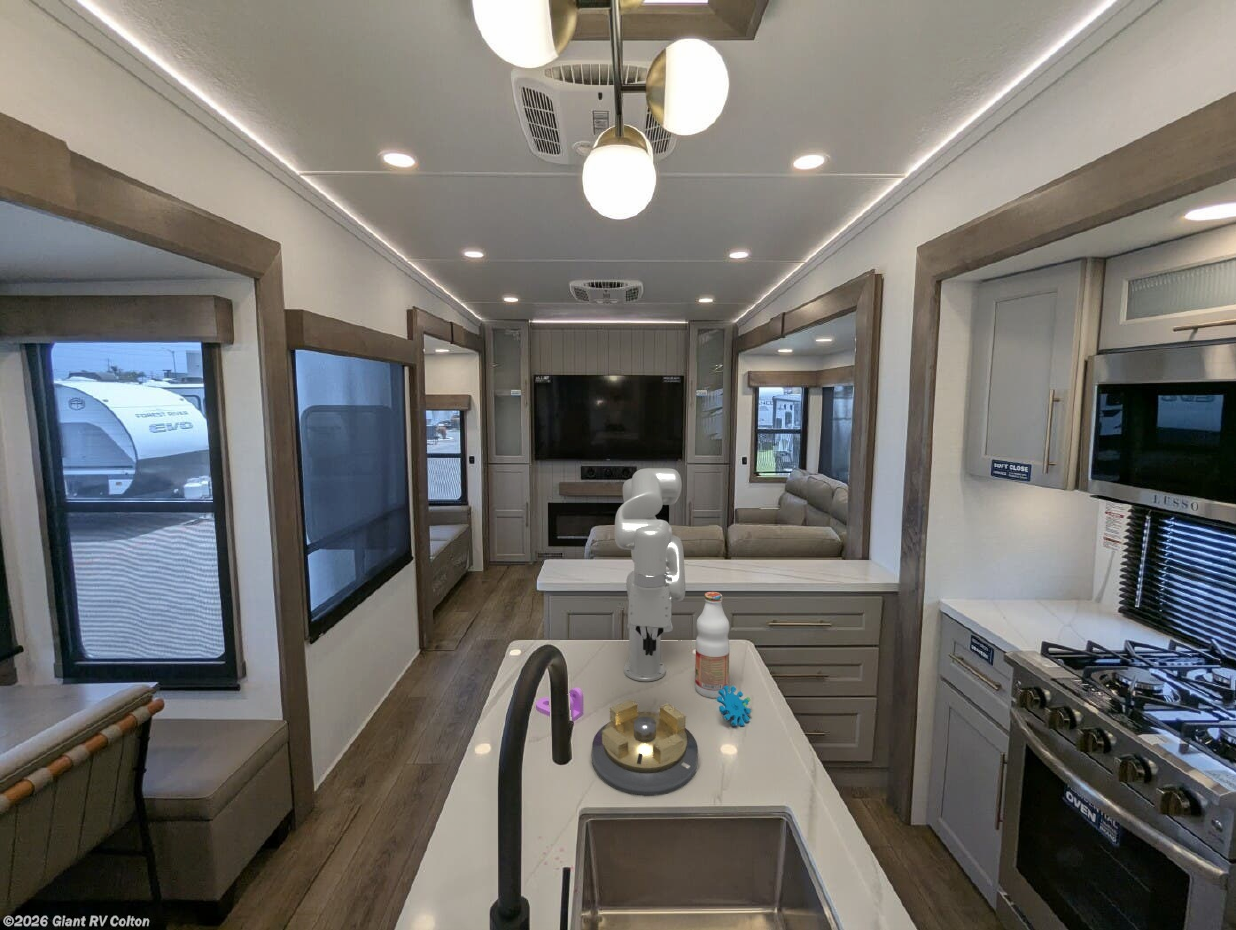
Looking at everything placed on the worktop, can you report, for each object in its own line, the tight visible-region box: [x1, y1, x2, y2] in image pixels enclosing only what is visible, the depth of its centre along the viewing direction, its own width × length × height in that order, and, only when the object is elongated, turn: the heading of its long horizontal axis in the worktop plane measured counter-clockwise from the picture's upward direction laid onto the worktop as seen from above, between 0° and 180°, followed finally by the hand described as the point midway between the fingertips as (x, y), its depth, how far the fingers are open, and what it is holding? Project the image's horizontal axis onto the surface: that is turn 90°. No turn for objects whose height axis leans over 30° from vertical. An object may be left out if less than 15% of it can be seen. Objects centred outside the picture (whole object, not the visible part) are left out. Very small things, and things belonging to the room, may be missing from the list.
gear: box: [716, 685, 752, 727], centre depth 135 cm, size 11×6×10 cm
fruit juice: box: [694, 591, 731, 699], centre depth 146 cm, size 9×9×28 cm
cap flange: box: [591, 721, 699, 797], centre depth 119 cm, size 24×24×3 cm
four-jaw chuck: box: [602, 699, 687, 773], centre depth 119 cm, size 19×19×5 cm
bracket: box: [535, 686, 584, 723], centre depth 137 cm, size 13×6×7 cm, turn 57°
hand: (649, 652), depth 125 cm, fingers closed
